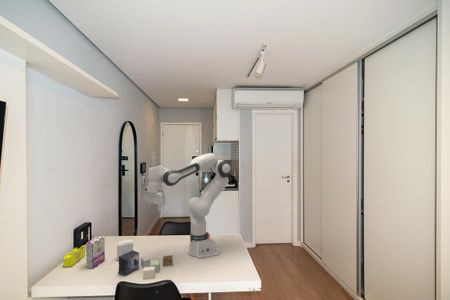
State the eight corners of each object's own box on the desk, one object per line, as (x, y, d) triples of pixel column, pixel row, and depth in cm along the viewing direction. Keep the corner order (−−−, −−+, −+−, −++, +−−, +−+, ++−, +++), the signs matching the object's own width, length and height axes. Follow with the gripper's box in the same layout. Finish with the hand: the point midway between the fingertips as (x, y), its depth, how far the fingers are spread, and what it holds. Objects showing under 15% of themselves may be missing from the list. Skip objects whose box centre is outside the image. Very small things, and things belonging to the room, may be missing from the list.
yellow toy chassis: (72, 267, 149) (72, 254, 149) (62, 268, 149) (62, 254, 148) (85, 256, 165) (85, 244, 165) (76, 256, 165) (76, 244, 164)
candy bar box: (98, 260, 159) (98, 235, 159) (105, 260, 158) (105, 236, 158) (85, 268, 148) (85, 242, 148) (92, 269, 147) (92, 243, 147)
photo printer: (132, 255, 166) (132, 238, 165) (133, 257, 162) (133, 240, 162) (116, 259, 160) (116, 241, 160) (117, 261, 156) (117, 243, 156)
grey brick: (146, 263, 155) (146, 255, 155) (150, 266, 150) (150, 258, 150) (140, 265, 152) (140, 257, 152) (144, 268, 147) (144, 260, 147)
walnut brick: (163, 263, 154) (163, 256, 154) (172, 262, 155) (172, 255, 155) (162, 266, 150) (162, 258, 150) (172, 265, 151) (172, 258, 151)
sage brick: (159, 267, 149) (159, 259, 149) (158, 272, 143) (158, 264, 143) (152, 268, 148) (152, 260, 148) (151, 273, 142) (151, 265, 142)
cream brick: (144, 275, 139) (144, 267, 139) (154, 274, 141) (154, 266, 141) (143, 279, 136) (143, 270, 135) (154, 278, 137) (154, 269, 137)
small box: (125, 276, 138) (125, 259, 138) (117, 273, 141) (117, 256, 141) (139, 268, 147) (139, 252, 147) (132, 266, 151) (132, 249, 151)
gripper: (168, 190, 152) (167, 211, 152) (150, 186, 166) (150, 206, 166) (159, 191, 147) (159, 213, 147) (142, 187, 161) (142, 208, 161)
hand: (154, 209), depth 157 cm, fingers open, 8 cm apart
